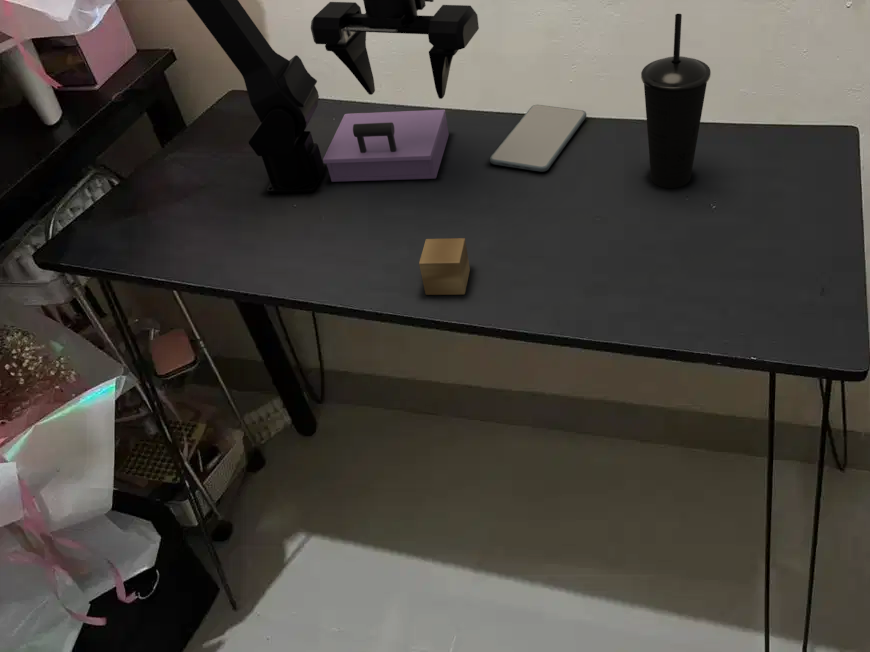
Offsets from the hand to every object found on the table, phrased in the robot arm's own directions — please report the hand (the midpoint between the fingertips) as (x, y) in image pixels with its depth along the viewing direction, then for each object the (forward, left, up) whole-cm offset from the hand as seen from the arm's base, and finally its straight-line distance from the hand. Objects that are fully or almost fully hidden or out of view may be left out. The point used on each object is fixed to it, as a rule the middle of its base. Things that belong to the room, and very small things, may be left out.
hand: (406, 95), depth 101 cm
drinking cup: (+32, -2, -12) cm, 34 cm away
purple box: (-5, +5, -11) cm, 13 cm away
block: (+7, -22, -11) cm, 26 cm away
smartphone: (+15, +8, -11) cm, 20 cm away
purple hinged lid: (-5, +5, -8) cm, 10 cm away
